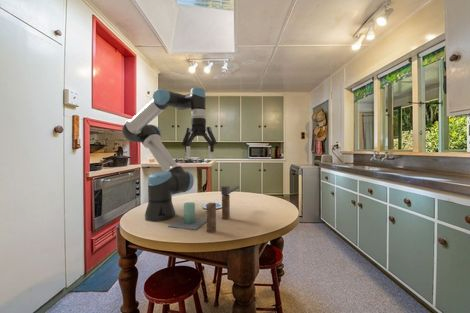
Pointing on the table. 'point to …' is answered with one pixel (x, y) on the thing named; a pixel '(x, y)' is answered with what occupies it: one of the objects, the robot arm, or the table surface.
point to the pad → (182, 225)
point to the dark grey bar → (227, 190)
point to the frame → (212, 213)
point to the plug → (189, 213)
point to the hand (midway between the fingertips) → (199, 158)
